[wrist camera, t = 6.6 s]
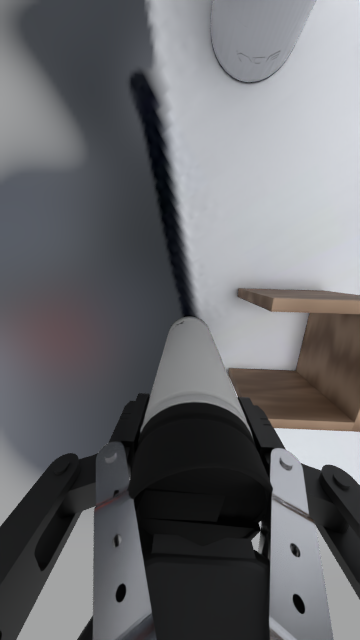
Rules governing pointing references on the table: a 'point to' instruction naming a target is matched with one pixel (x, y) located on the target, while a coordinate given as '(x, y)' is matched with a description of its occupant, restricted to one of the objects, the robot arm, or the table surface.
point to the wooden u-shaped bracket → (310, 363)
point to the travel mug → (196, 449)
